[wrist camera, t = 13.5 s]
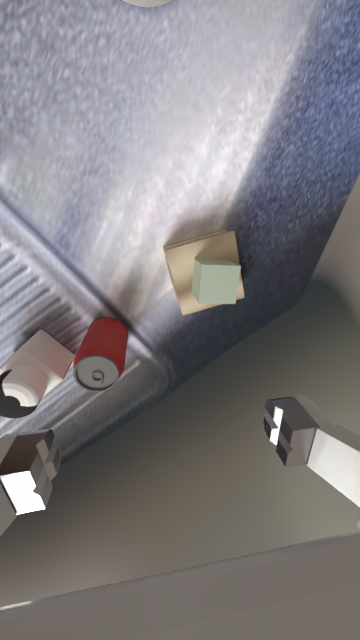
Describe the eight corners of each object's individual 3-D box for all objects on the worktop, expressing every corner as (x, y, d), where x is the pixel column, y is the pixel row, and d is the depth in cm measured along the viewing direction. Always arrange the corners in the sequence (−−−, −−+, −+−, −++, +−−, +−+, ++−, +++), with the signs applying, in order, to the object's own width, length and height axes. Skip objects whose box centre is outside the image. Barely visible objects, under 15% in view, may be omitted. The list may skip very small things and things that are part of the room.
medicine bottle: (47, 379, 43) (15, 433, 32) (12, 354, 40) (-37, 404, 29) (76, 355, 42) (52, 402, 31) (41, 327, 39) (2, 369, 28)
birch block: (162, 247, 37) (165, 250, 33) (223, 229, 38) (234, 231, 33) (178, 305, 41) (182, 315, 37) (233, 289, 42) (244, 297, 37)
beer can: (91, 352, 42) (74, 398, 31) (85, 317, 39) (63, 354, 29) (130, 348, 43) (126, 392, 32) (125, 314, 40) (120, 349, 29)
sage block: (194, 258, 34) (202, 264, 29) (227, 260, 35) (241, 265, 30) (191, 293, 36) (198, 303, 31) (223, 293, 36) (235, 303, 32)
